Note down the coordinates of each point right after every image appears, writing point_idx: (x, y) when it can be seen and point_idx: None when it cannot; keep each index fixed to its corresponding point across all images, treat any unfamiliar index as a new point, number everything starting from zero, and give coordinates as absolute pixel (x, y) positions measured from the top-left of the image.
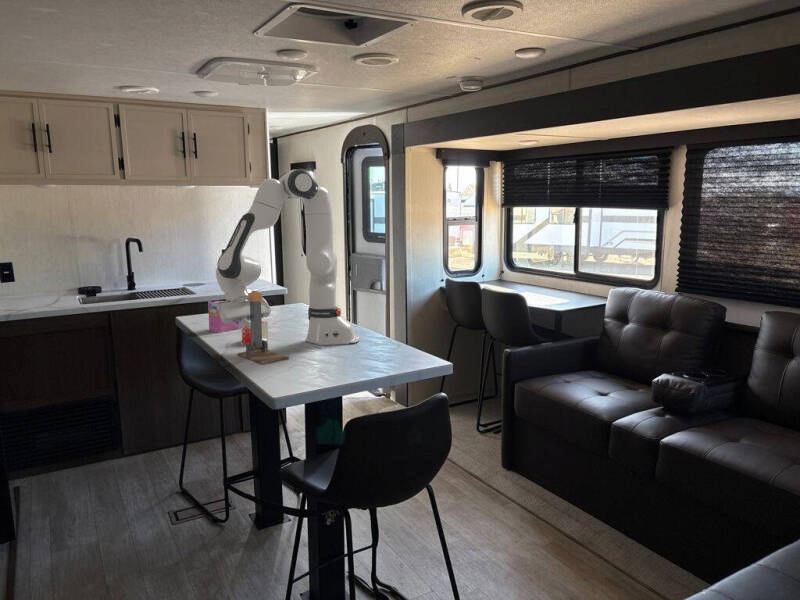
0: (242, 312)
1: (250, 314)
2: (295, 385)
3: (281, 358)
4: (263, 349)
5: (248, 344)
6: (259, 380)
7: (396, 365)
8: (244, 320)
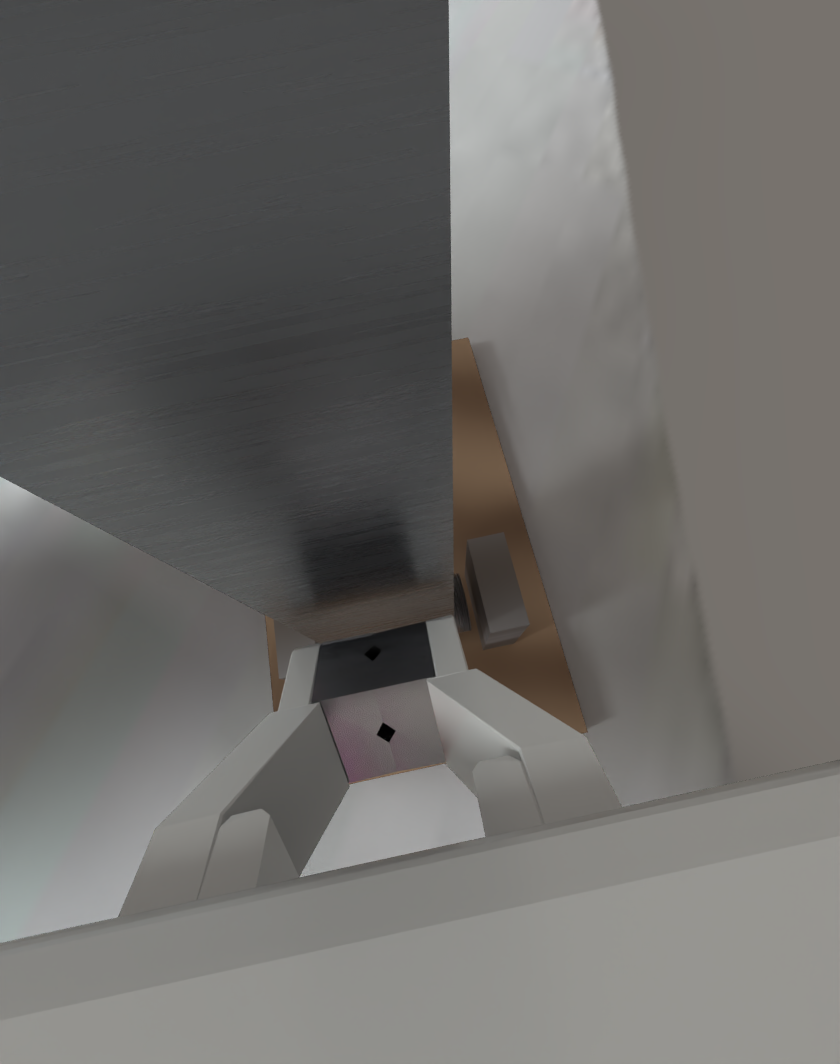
0: (764, 1032)
1: (447, 447)
2: (452, 23)
3: None
4: None
5: (511, 564)
6: (585, 116)
7: None
8: (576, 752)
